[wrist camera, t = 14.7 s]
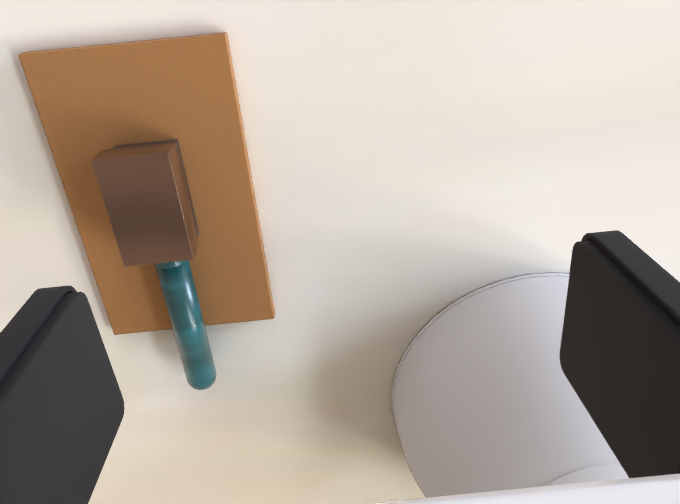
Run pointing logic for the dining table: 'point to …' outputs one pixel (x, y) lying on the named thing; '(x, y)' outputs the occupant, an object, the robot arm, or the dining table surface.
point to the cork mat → (148, 126)
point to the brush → (159, 236)
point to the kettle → (496, 396)
